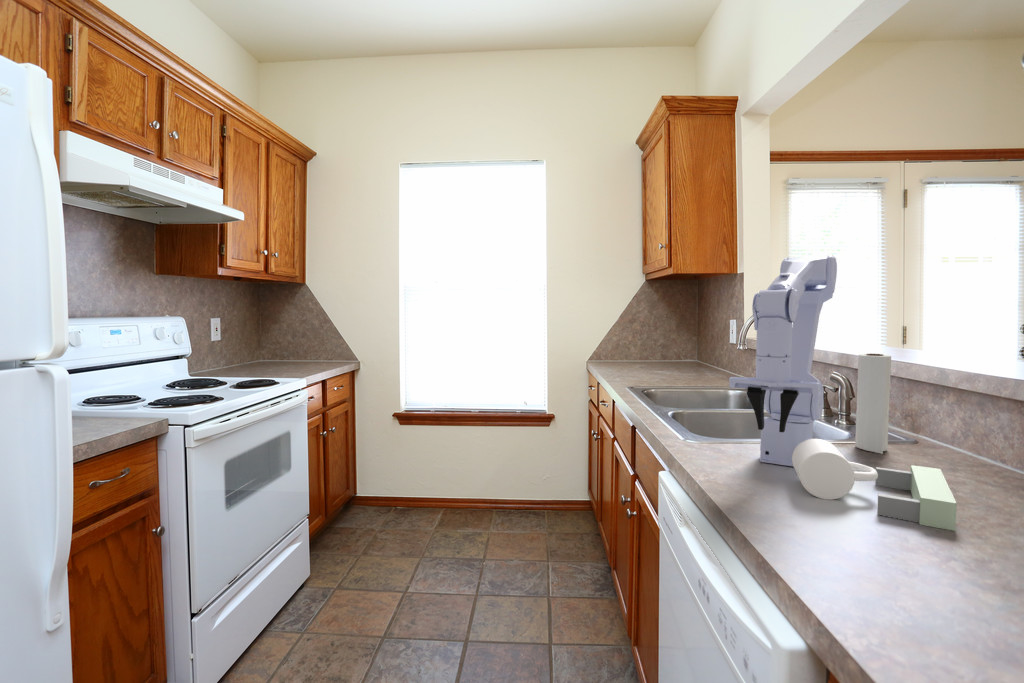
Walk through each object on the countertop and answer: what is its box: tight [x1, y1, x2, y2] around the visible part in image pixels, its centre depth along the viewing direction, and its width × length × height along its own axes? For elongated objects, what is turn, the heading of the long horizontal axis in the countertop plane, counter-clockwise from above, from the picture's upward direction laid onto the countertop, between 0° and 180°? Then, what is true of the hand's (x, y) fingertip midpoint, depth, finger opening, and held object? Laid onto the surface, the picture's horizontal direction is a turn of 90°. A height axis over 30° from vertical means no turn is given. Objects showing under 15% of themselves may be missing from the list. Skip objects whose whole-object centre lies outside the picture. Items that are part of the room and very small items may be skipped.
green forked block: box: [875, 464, 958, 532], centre depth 83 cm, size 9×19×4 cm, turn 146°
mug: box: [792, 438, 878, 501], centre depth 89 cm, size 12×10×8 cm
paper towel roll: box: [854, 353, 892, 455], centre depth 115 cm, size 7×6×21 cm
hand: (771, 430), depth 95 cm, fingers open, 3 cm apart
